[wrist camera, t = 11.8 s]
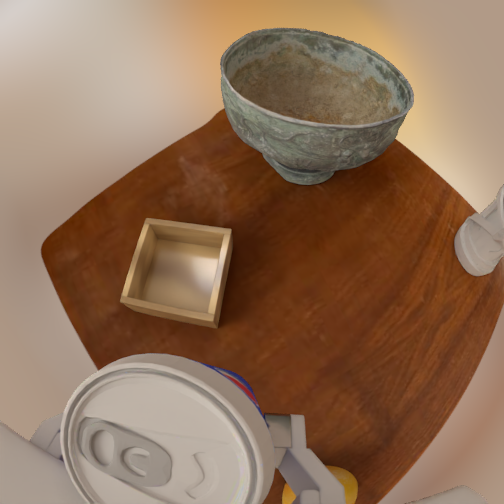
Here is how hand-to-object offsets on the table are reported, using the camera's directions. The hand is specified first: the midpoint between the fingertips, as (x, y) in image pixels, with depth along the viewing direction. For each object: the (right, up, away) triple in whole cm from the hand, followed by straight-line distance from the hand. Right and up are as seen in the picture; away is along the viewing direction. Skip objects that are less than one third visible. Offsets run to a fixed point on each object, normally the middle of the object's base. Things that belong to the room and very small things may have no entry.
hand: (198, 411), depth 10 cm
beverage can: (0, -5, +8) cm, 9 cm away
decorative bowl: (+11, +22, +37) cm, 45 cm away
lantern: (+42, +5, +30) cm, 52 cm away
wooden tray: (-7, +3, +28) cm, 29 cm away
